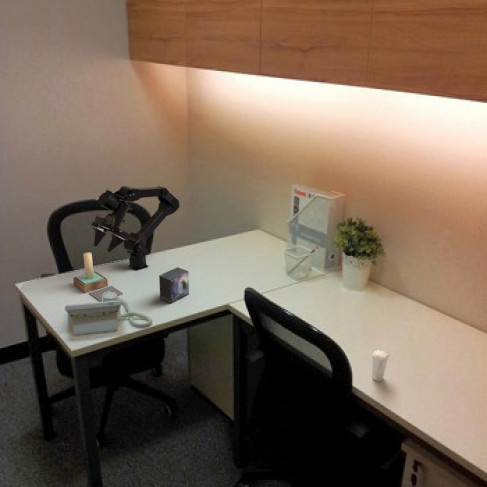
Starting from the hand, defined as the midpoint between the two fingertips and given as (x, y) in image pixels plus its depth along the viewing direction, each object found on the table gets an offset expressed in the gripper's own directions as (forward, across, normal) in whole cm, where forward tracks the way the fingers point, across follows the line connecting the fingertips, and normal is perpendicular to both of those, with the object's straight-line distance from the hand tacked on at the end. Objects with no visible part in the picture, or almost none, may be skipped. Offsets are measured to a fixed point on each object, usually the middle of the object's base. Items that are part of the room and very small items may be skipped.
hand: (101, 249), depth 223 cm
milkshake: (+4, +120, +18) cm, 122 cm away
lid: (+13, +1, +1) cm, 13 cm away
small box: (+6, +34, +15) cm, 38 cm away
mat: (+16, +12, +2) cm, 20 cm away
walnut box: (+15, +1, +3) cm, 16 cm away
